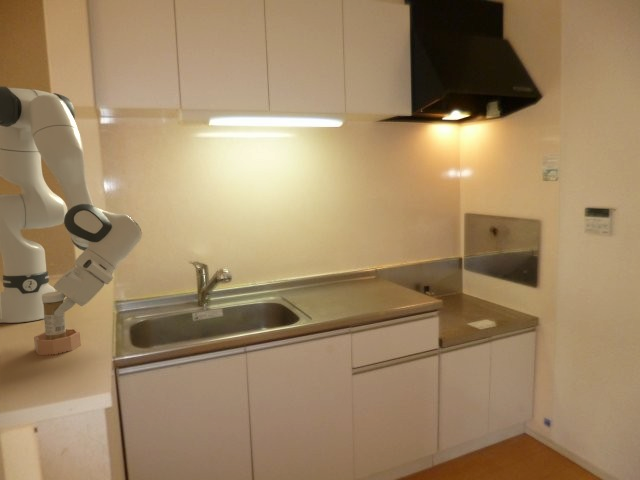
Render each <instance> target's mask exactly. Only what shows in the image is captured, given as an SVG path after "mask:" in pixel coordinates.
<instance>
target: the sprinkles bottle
mask: <svg viewBox="0 0 640 480" xmlns="http://www.w3.org/2000/svg"><path fill="white" fill-rule="evenodd" d="M64 300H65V298H64V295H63V294H62V292H57V291H55V292H49V293H45V294H43V295H42V302H43V305H44V318H43V321H44V332H45V333H46V340H54V339H59V338H64V337H66V329H67V328H66V315H65V314H66V312H65V313H64V314H63V315H62V316H61V317H58V316H57V315H55V314H54V313H53V311H54V310H55V309H56V308H57V307H59V306H60V305H61V304H62V303H63V302H64Z"/></svg>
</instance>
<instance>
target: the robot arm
mask: <svg viewBox="0 0 640 480" xmlns="http://www.w3.org/2000/svg"><path fill="white" fill-rule="evenodd" d="M75 117H76V111H75V107H74V104H73V103H72V101H71V100H70V98H68V97H66V96H65V95H62V94H59V93H56V92H55V93H54V92H53V93H51V92H47V91H44V90H39V89H33V88H28V89H27V88H18V87H7V86H5V85H4V86H1V85H0V177H1V178H2V179H4V181H7V182H9V183H11V184H13V185H17V186H19V187H20V190H21V193H19V194H17V193H15V194H14V193H13V194H11V193H10V194H7V193H6V194H5V193H3V194H2V193H1V194H0V255H1V260H2V267H3V275H2V279H1V280H2V287H3V290H2V292H0V323H5V324H6V323H8V324H12V323H13V324H15V323H24V322H25V323H26V322H32V321H34V322H35V321H38V320H44V305H43V302H42V295H43V294H45V293H49V292H62V294H63V295H64V301H63V303H62V304H61V305H60V306H59V307H57V308H56V309H55V310H54V311H53V313H54V314H55V315H57V316H58V317H61V316H62V315H63V314H64V313H65V314H66V312H67V311H69V310H70V309H72V308H73V307H74V306H75V305H78V306H80V307H83V306H85V305H87V304H88V303H89V302H91V300H93V298H95V296H97V294H98V293H99V292H100V291H101V290H102V289H103V288H104V286H105V285H109V284H110V283H111V282H112V281H113V279H114V277H113V273H114V271H115V270H116V269H117V268H118V266H119V264H120V262H122V261H123V260H124V259H126V258H127V257H128V256H129V255H130V254H131V252H133V250H134V249H135V248H136V247H137V245H138V243H140V241H141V239H142V236H143V235H142V229H141V227H140V226H139V224H138V223H137V221H135V219H134V218H132V216H129V215H128V214H126V213H115V212H111V211H107V210H104V209H101V208H99V207H96V206H95V205H94V203H93V199H92V196H91V193H90V190H89V186H88V183H87V176H86V175H87V174H86V165H85V152H84V143H83V139H82V136H81V134H80V131H79V128H78V125H77V123H76V121H75ZM42 160H43V161H44V164H45V165H46V167H47V168H48V169H49V171H50V172H51V174H52V175H53V177H54V178H55V179H56V180H57V182H58V184H59V186H60V188H61V189H62V191H63V195H64V197H65V201H66V202H65V201H64V199H63V198H61V197H60V196H59V195H58V194H56V193H55V192H53V191H52V190H51V188H50V187H49V186H48V184H47V183H46V181H45V179H44V176H43V175H44V174H43V170H42V169H43V167H42ZM67 206H68V207H67ZM63 223H64V227H65V230H66V231H67V234H68V235H69V236H70V239H71V243H72V244H74V246H75V247H76V248H77V249H79V250H81V251H82V252H81V254H80V255H79V256H78V257H77V258H76V259H75V260H74V261H73V264H74V265H75V266H73V267H71V268H70V269H68V270H67V271H65V273H64V274H63V275H62V276H61V277H60V278H59V279H58V280H57V281H56V282H55V283H54V285H53V286H52V285H50V283H49V282H50V274H49V271H47V262H46V251H45V248H44V247H43V246H42V244H40V243H39V242H36V241H34V240H31V239H28V238H25V237H24V236H23V235H22V232H21V231H22V230H33V229H47V228H52V227H57V226H60V225H61V226H62V225H63Z"/></svg>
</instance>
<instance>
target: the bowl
mask: <svg viewBox="0 0 640 480" xmlns="http://www.w3.org/2000/svg"><path fill="white" fill-rule="evenodd" d="M33 339H34V350H35V352H36V354H37V355H38V356H39V355H41V356H42V355H45V356H49V355H50V356H53V354H55V355H58V353H59V354H62V352H63V353H67V352H66V351H68V352H72V351H73V349H74V350H75V349H77V348H78V347H80V346H81V345H82V344H81V343H82V342H81V331H80V330H78V329H77V328H66V337H64V338H59V339H54V340H46V333H45V331H44V332H41V333H40V334H39V333H38V334H37V335H35V336H34V337H33ZM48 354H49V355H48ZM51 354H52V355H51Z"/></svg>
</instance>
